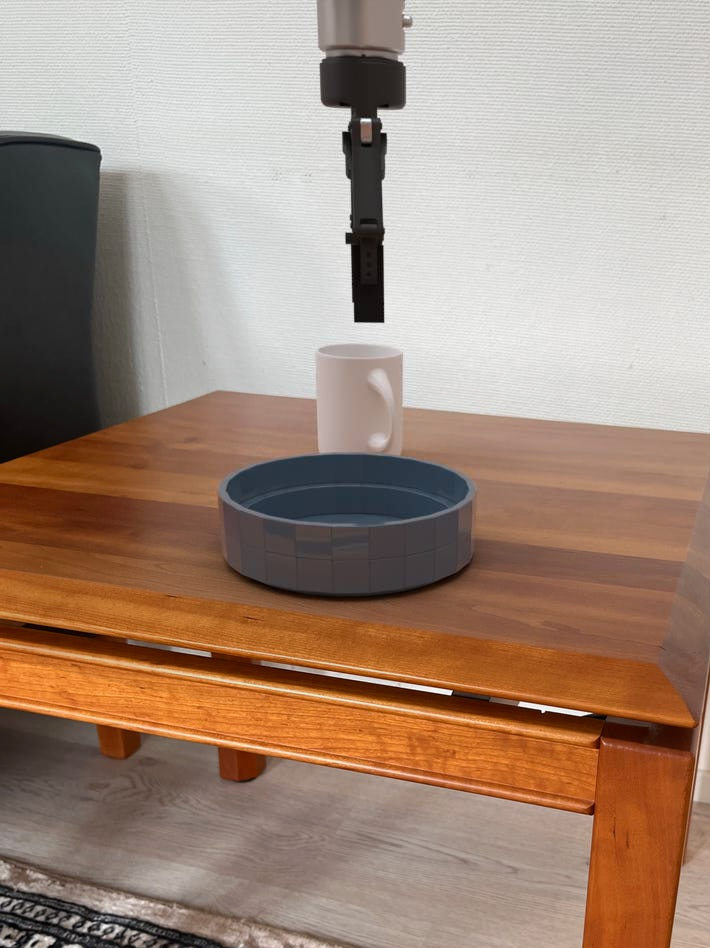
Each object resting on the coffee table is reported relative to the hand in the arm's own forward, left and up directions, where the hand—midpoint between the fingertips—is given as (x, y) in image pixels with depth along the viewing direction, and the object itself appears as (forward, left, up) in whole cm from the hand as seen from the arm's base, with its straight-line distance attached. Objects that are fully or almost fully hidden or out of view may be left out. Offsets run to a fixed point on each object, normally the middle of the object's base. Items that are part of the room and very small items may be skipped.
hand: (367, 312), depth 98 cm
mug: (0, 0, -15) cm, 15 cm away
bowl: (-2, -27, -15) cm, 31 cm away
